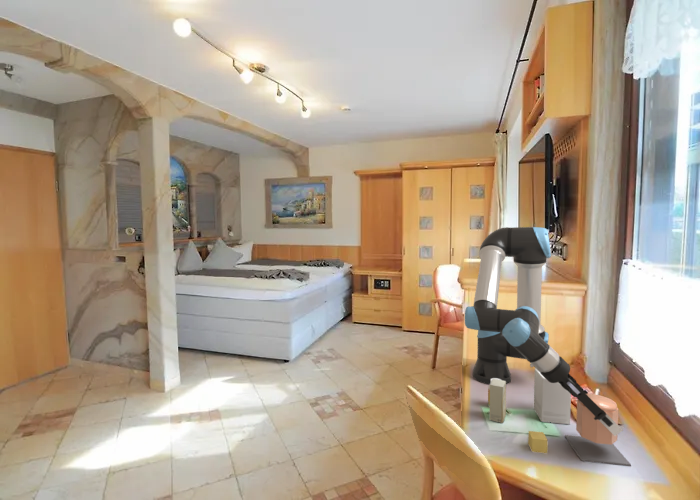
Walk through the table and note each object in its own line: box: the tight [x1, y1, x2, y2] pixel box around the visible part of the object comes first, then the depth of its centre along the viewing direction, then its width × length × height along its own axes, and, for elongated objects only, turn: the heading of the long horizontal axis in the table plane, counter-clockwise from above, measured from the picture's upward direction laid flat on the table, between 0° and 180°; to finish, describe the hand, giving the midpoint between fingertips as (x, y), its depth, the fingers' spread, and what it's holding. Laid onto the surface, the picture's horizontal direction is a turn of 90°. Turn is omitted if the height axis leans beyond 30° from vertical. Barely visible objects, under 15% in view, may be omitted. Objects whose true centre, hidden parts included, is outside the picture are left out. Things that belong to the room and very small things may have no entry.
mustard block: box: [527, 430, 549, 454], centre depth 106 cm, size 4×4×4 cm
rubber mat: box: [564, 434, 632, 467], centre depth 105 cm, size 12×12×1 cm
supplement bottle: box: [487, 378, 501, 408], centre depth 130 cm, size 5×5×10 cm
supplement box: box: [533, 367, 572, 425], centre depth 123 cm, size 9×9×15 cm
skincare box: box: [488, 379, 507, 424], centre depth 123 cm, size 6×4×12 cm
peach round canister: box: [575, 393, 619, 445], centre depth 104 cm, size 9×9×10 cm
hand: (609, 423), depth 103 cm, fingers closed on peach round canister, 9 cm apart
